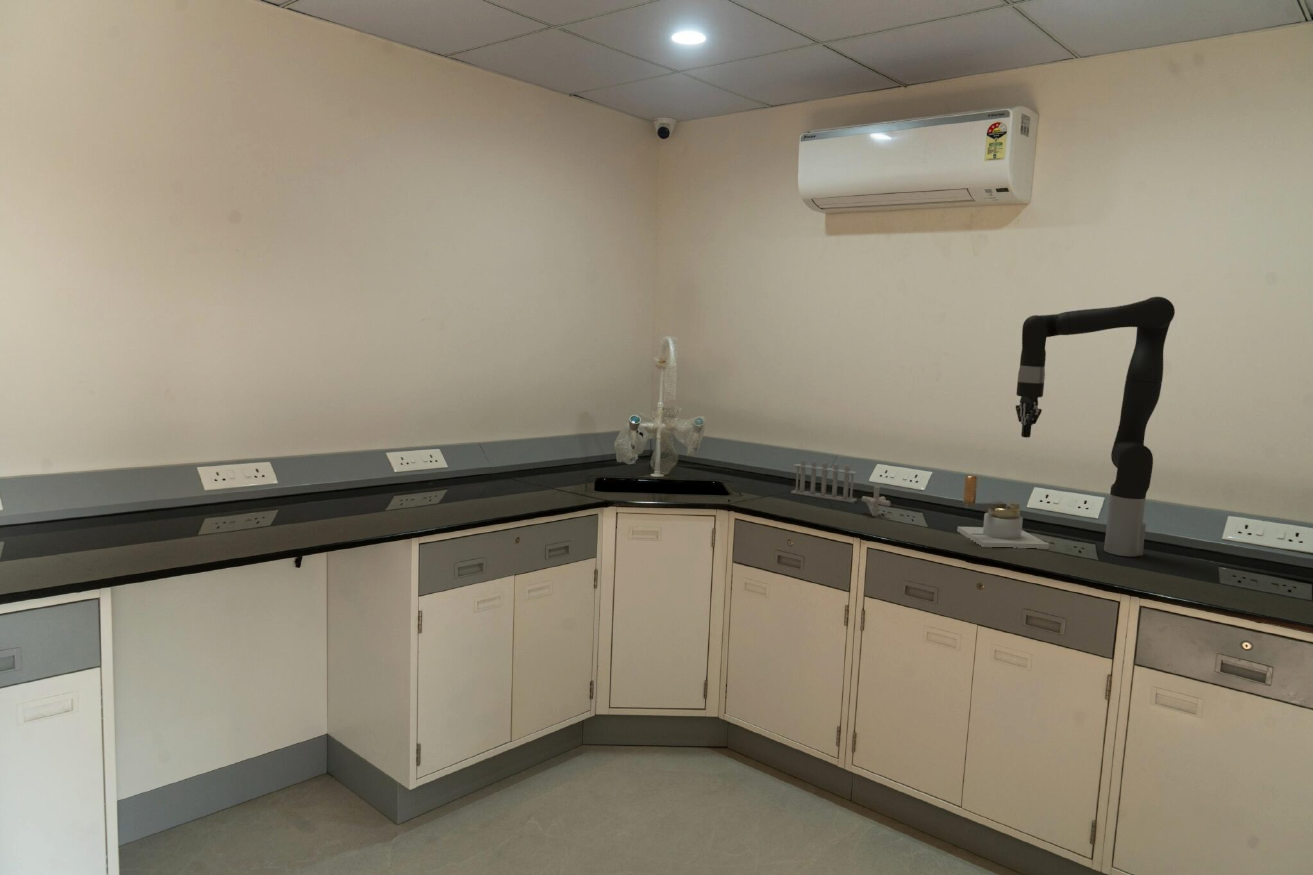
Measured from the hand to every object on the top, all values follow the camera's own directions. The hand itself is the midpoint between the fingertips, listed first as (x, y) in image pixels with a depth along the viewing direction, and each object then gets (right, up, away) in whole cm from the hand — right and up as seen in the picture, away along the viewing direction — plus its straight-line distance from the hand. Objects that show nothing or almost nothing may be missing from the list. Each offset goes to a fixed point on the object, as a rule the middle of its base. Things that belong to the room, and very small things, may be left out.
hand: (1025, 437), depth 263 cm
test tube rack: (-51, -23, +59) cm, 81 cm away
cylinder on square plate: (-7, -32, +1) cm, 33 cm away
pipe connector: (-39, -27, +30) cm, 56 cm away
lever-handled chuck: (-11, -24, -1) cm, 27 cm away
